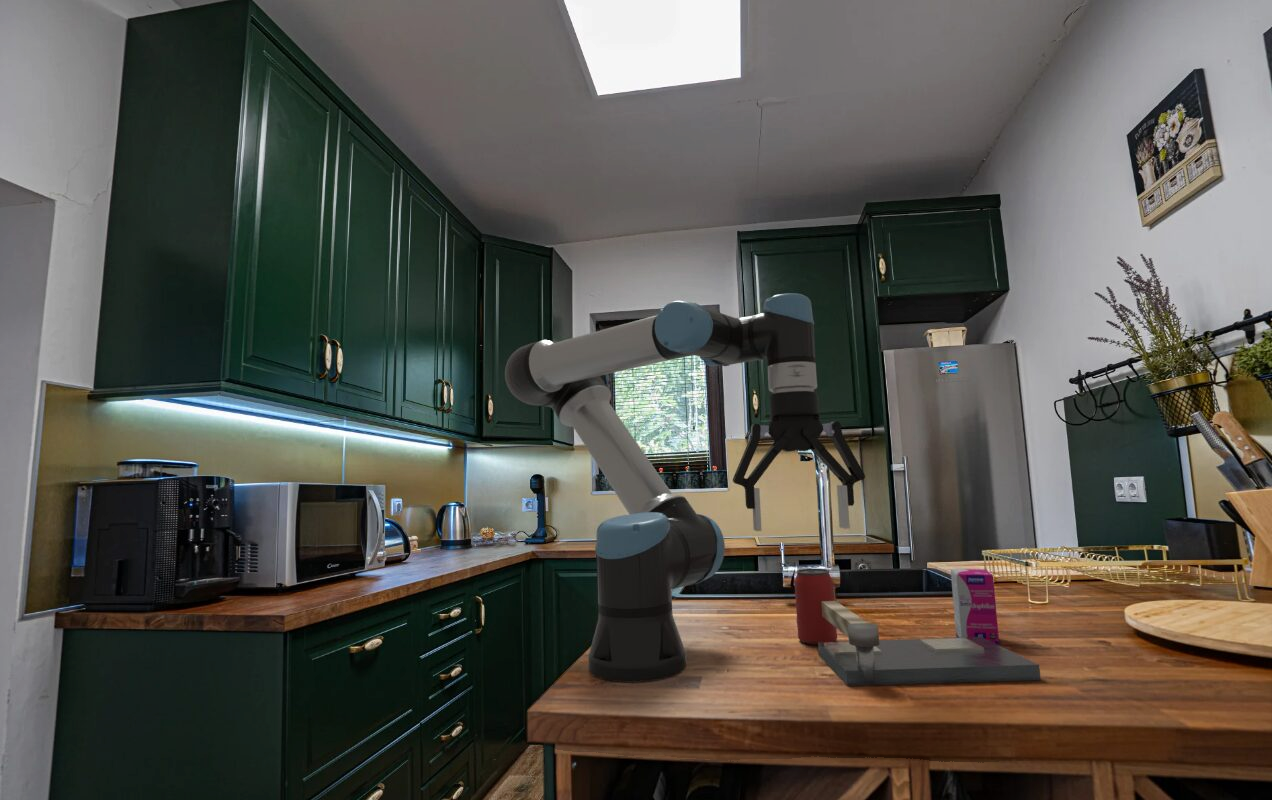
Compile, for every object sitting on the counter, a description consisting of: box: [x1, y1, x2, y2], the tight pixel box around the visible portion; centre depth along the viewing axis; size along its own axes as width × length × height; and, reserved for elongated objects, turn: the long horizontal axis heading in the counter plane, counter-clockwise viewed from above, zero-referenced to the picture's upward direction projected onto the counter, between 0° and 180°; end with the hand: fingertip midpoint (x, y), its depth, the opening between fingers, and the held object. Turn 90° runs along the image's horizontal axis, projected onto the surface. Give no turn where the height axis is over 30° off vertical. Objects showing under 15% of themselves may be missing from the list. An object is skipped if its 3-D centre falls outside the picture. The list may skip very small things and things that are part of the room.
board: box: [817, 637, 1042, 687], centre depth 98 cm, size 26×16×2 cm, turn 88°
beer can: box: [794, 568, 838, 646], centre depth 116 cm, size 7×7×12 cm
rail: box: [821, 600, 880, 647], centre depth 100 cm, size 20×4×2 cm, turn 178°
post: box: [855, 646, 875, 687], centre depth 92 cm, size 2×2×5 cm
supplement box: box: [950, 568, 1000, 646], centre depth 112 cm, size 6×6×12 cm
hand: (801, 529), depth 102 cm, fingers open, 13 cm apart
